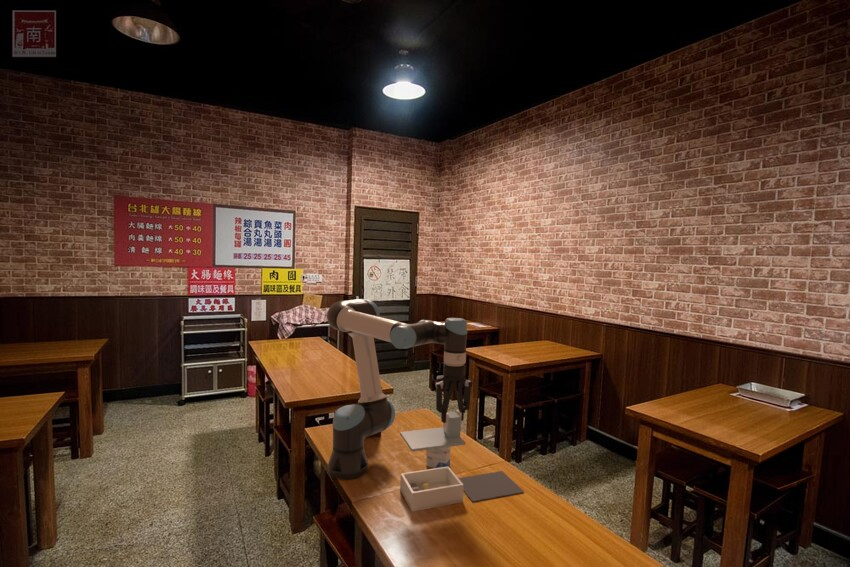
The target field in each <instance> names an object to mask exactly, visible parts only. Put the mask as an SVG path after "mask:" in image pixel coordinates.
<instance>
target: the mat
mask: <svg viewBox="0 0 850 567" xmlns="http://www.w3.org/2000/svg"><path fill="white" fill-rule="evenodd" d="M458 479H459V480H460V481H461V482H462V483H463V485H464V487H463V493H465V495H466V496H467V497H468V498H469V500H470V501H471V502H472V503H476V502H481V501H487V500H491V499H492V500H493V499H497V498H501V497H502V498H503V497H508V496H514V495H520V494H524V493H525V491H524V490H523V489H522V488H521V487H520V486H519V485H517V483H516V482H515V481H514V480H512V479H511V478H510V476H508V475H507V474H506V473H505V472H504V471H503V470H501V471H494V472H488V473H481V474H476V475H471V476H465V477H464V476H463V477H458Z"/></svg>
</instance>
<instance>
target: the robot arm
mask: <svg viewBox="0 0 850 567" xmlns="http://www.w3.org/2000/svg"><path fill="white" fill-rule="evenodd" d="M326 320H327V323H328V325H329V326H330V327H331V328H332V329H333V330H337V331H340V332H343V333H347V334H348V335H349V336H350V337H351V338H352V344H353V350H354V351H353V352H354V358H355V365H356V371H357V377H358V385H359V393H360V392H361V397H360V396H359V399H358V401H357V404H354V403H353V404H346V405H343V406H341V407H339V408H337V409H336V410H335V412H334V413H333V417H332V418H333V419H332V420H333V421H332V452H331V453H330V456H329V460H328V464H327V475H329V476H330V477H332V478H334V479H336V480H337V479H338V480H347V481H348V480H355V479H358V478H361V477H362V476H364V475H366V473H368V471H369V462H368V458H367V455H366V451H365V446H364V445H365V439H364V438H366V437H368V436H371V435H373V434H376V433H378V432H381V433H382V432H384V431H386V430H387V429H389V428H390V427H391V426H392V425H393V423H394V422H395V419H396V418H395V417H396V410H395V405H394V404H393V403H392V402H391V400H389V399H387V395H386V394H385V393H383V388H382V389H381V386H382V384H381V376H380V371H379V362H378V356H377V351H376V344H375V339H377V340H381V341H385V342H388V343H391V344H392V345H393V346H394V348H395V349H399V350H402V349H410V348H413V347H417V346H424V345H427V344H439V345H444V346H443V348H444V349H443V362H444V364H443V370H442V374H443V377H442V379H441V381H439V382H434V387H435V389H436V392H435V393H436V394H435V395H436V396H435V401H436V403H435V404H436V406H435V408H436V409H435V410H437V412H438V413H441V417H440V420H441V422H442V427H443V430H444V431H445V432H446V433H448V425H449V414H448V413H447V412H448V410H449V405H450V400H451V398H452V397H451V396H452V394H453V392H455V395H456V400H457V408H458V409H456V411H455V412H456V413H457V414H458V415H459V416H460V417H461V422H463V421H464V417H465V413H466V411H468V410H469V409H470V407H471V406H470V403H471V390H472V387H473V383H474V382H473V381H471V380H469V379H467V378H466V367H467V366H466V361H467V338H468V322H467V320H466V319H464V318H460V317H448V318H446V319H445V320H444V322H442V321H441V322H440V321H435V320H431V319H421V320H419V321H418V322H415V323H405V322H402V321H401V322H400V321H397V320H393V319H388V318H386V317H381V314H380V310H379V308H378V305H377V304H376V303H375V302H374V301H372V300H371V299H366V298H359V299H358V298H357V299H350V300H348V299H347V300H339V301H337V302H334V303H332V304H331V305H330V306H329V308H328V310H327V313H326ZM443 386H444V387H445V388H444V387H443ZM463 386H464V388H463ZM443 388H444V396H443ZM463 389H464V390H463ZM463 391H464V392H463ZM460 432H462V428H461V429H460Z"/></svg>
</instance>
